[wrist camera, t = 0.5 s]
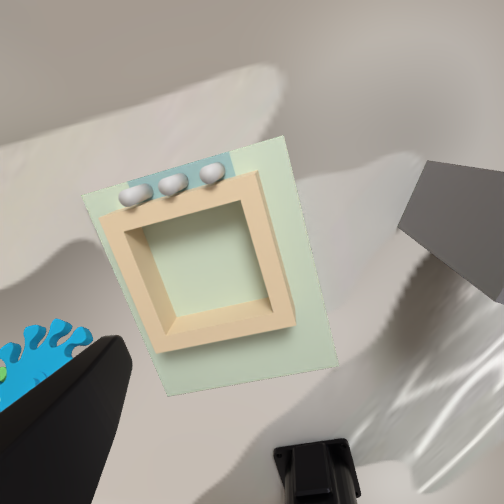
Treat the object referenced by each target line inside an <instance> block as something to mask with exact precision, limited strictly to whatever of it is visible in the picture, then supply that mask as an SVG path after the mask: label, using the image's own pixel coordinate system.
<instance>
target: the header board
mask: <svg viewBox="0 0 504 504" xmlns="http://www.w3.org/2000/svg"><path fill="white" fill-rule="evenodd" d="M81 196H82V199H83V201H84V203H85V206H86V208H87V210H88V213H89V215H90V217H91V219H92V222H93V224H94V226H95V229H96V231H97V233H98V236H99V238H100V240H101V243H102V245H103V247H104V250H105V252H106V254H107V257H108V259H109V261H110V263H111V266H112V268H113V270H114V273H115V275H116V278H117V280H118V282H119V285H120V287H121V289H122V291H123V294H124V296H125V298H126V301H127V303H128V305H129V308H130V310H131V312H132V315H133V317H134V319H135V322H136V324H137V326H138V329H139V331H140V333H141V336H142V338H143V340H144V343H145V345H146V347H147V350H148V352H149V354H150V357H151V359H152V361H153V363H154V366H155V368H156V370H157V373H158V375H159V377H160V380H161V382H162V384H163V387H164V389H165V391H166V394H167V396H174V395H180V394H186V393H191V392H197V391H202V390H208V389H213V388H219V387H225V386H231V385H236V384H241V383H247V382H253V381H259V380H264V379H270V378H276V377H281V376H287V375H292V374H298V373H304V372H309V371H314V370H320V369H326V368H332V367H337V366H339V363H338V359H337V355H336V351H335V346H334V342H333V338H332V334H331V330H330V326H329V321H328V318H327V313H326V309H325V305H324V301H323V296H322V292H321V288H320V284H319V280H318V276H317V272H316V267H315V263H314V259H313V255H312V251H311V247H310V243H309V238H308V234H307V230H306V226H305V222H304V218H303V214H302V209H301V205H300V201H299V197H298V193H297V189H296V185H295V180H294V176H293V172H292V168H291V164H290V160H289V156H288V151H287V147H286V143H285V139H284V135H283V136H280V137H276V138H273V139H269V140H266V141H263V142H259V143H256V144H252V145H249V146H246V147H242V148H239V149H236V150H232V151H229V152H225V153H222V154H219V155H215V156H212V157H209V158H205V159H202V160H199V161H195V162H192V163H188V164H185V165H182V166H178V167H175V168H172V169H168V170H165V171H162V172H158V173H155V174H152V175H148V176H145V177H141V178H138V179H135V180H131V181H128V182H125V183H121V184H118V185H115V186H111V187H108V188H104V189H101V190H98V191H94V192H91V193H88V194H84V195H81Z"/></svg>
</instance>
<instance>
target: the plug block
mask: <svg viewBox="0 0 504 504" xmlns="http://www.w3.org/2000/svg"><path fill="white" fill-rule="evenodd" d="M398 228H399V229H401V230H402V231H403V232H405V233H406V234H407V235H409V236H410V237H411V238H413V239H414V240H415V241H417V242H418V243H419V244H420V245H422V246H423V247H424V248H426V249H427V250H428V251H429V252H431V253H432V254H433V255H435V256H436V257H437V258H439V259H440V260H441V261H443V262H444V263H445V264H446V265H448V266H449V267H450V268H452V269H453V270H454V271H456V272H457V273H458V274H459V275H461V276H462V277H463V278H465V279H466V280H467V281H469V282H470V283H471V284H473V285H474V286H475V287H476V288H478V289H479V290H480V291H482V292H483V293H484V294H486V295H487V296H488V297H490V298H491V299H492V300H493V301H495V302H498V303H501V304H504V172H501V171H494V170H488V169H481V168H475V167H468V166H461V165H455V164H448V163H441V162H435V161H427V162H426V165H425V167H424V169H423V171H422V173H421V176H420V178H419V180H418V182H417V184H416V187H415V189H414V191H413V193H412V196H411V198H410V200H409V202H408V204H407V207H406V209H405V211H404V213H403V216H402V218H401V220H400V222H399V224H398Z"/></svg>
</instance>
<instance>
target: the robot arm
mask: <svg viewBox="0 0 504 504" xmlns="http://www.w3.org/2000/svg"><path fill="white" fill-rule="evenodd" d="M131 371H132V359H131V356H130V354H129V352H128V349H127V347H126V345H125V342H124V340H123V338H122V337H121V336H119V335H110V336H104V337H101V338H100V339H98V340H97V341H96V342H94V343H93V344H92V345H90V346H89V347H88V348H86V349H85V350H84V351H82V352H81V353H80V354H79V355H77V356H76V357H74V358H73V359H71V360H70V361H69V362H67V363H66V364H65V365H63V366H62V367H61V368H59V369H58V370H57V371H55V372H54V373H53V374H51V375H50V376H48V377H47V378H46V379H44V380H43V381H42V382H40V383H39V384H38V385H36V386H35V387H34V388H32V389H31V390H30V391H28V392H27V393H26V394H24V395H23V396H22V397H20V398H19V399H18V400H16V401H15V402H13V403H12V404H11V405H9V406H8V407H7V408H5V409H4V410H3V411H1V412H0V504H91V503H92V500H93V497H94V494H95V491H96V488H97V486H98V482H99V480H100V477H101V474H102V471H103V468H104V466H105V463H106V460H107V457H108V454H109V452H110V449H111V446H112V443H113V440H114V437H115V434H116V431H117V428H118V424H119V420H120V416H121V412H122V408H123V404H124V400H125V396H126V392H127V387H128V384H129V379H130V376H131ZM273 455H274V459H275V462H276V465H277V468H278V471H279V474H280V477H281V480H282V483H283V486H284V489H285V504H357V500H356V498H358V497H360V496H361V491H360V487H359V483H358V479H357V475H356V471H355V467H354V463H353V459H352V455H351V451H350V447H349V443H348V441H347V440H346V439H344V438H341V439H334V440H327V441H320V442H313V443H306V444H299V445H292V446H285V447H278V448H275V449H274V454H273Z"/></svg>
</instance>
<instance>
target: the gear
mask: <svg viewBox="0 0 504 504" xmlns="http://www.w3.org/2000/svg"><path fill="white" fill-rule="evenodd" d="M71 329H72V325H71V324H70V323H68V322H65V321H62V320H60V319H54V320H53V322H52V323H51V326H50V330H49V333H48V336H47V337H46V339H45V341H44V342H43V343H42V344H41V345H40V346H39V347H38V348H37V346H38V343H39V342H40V341H41V339H42V338H43V337H44V336H45V333H46V328H45V327H41V326H39V325H32V326H28V327H26V328H25V330H24V337H25V347H24V351H23V354H22V356H21V359H20V360H19V361H18V358H19V356H20V353H21V346H20V345H19V344H15V343H12V342H10V343H8V344H6V345H4V346H3V347H2V348H1V349H0V359H2V360H3V361H4V363H5V364H6V367H0V412H1V411H3V410H4V409H5V408H7V407H8V406H9V405H11V404H12V403H13V402H15V401H16V400H18V399H19V398H20V397H22V396H23V395H24V394H26V393H27V392H28V391H30V390H31V389H32V388H34V387H35V386H36V385H38V384H39V383H40V382H42V381H43V380H44V379H46V378H47V377H48V376H50V375H51V374H53V373H54V372H55V371H57V370H58V369H59V368H61V367H62V366H63V365H65V364H66V363H67V362H69V361H70V360H71V359H73V358H72V355H71V354H72V350H73V349H74V347H76V346H79V345H80V346H86V345H89V344H90V343H91V342H92V341H93V337H92V334H91V332H90V331H89V329H87V328H84V327H78V328H77V329H76V330H75V331H74V332H73V334H72V335H71V337H70V338H69V339H68V340H67V341H66V342H64V343H63V344H61V345H59V346H57V341H58V340H59V339H60V338H61V337H63V336H65V335H67V334H68V333H69V332H70V331H71Z"/></svg>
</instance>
